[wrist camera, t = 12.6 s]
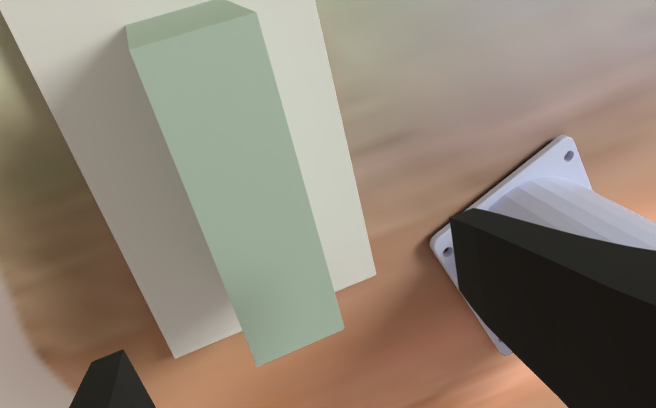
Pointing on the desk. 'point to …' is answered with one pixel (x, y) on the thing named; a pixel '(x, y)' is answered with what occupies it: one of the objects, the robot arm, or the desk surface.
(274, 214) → the block
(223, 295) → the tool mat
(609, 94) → the desk surface
